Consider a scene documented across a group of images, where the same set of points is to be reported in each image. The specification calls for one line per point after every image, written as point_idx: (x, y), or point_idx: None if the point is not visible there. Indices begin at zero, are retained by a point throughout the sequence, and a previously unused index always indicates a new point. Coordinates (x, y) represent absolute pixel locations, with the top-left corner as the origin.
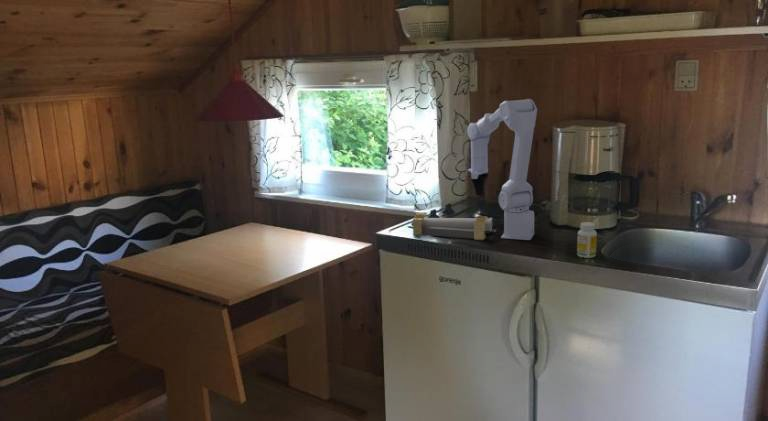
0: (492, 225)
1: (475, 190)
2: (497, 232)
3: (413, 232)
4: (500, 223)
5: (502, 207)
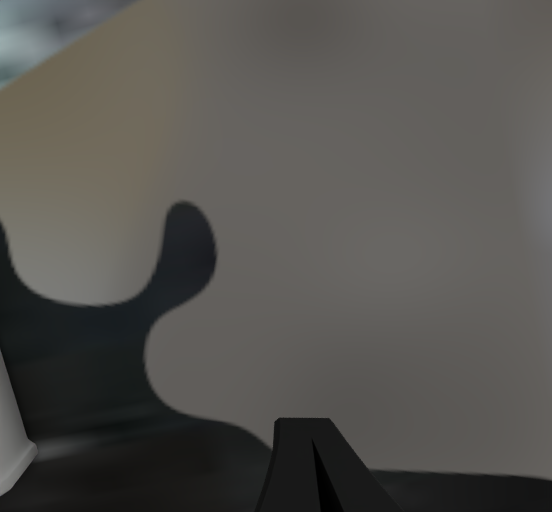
0: (29, 464)
1: (270, 464)
2: None
3: None
4: (228, 451)
5: None
